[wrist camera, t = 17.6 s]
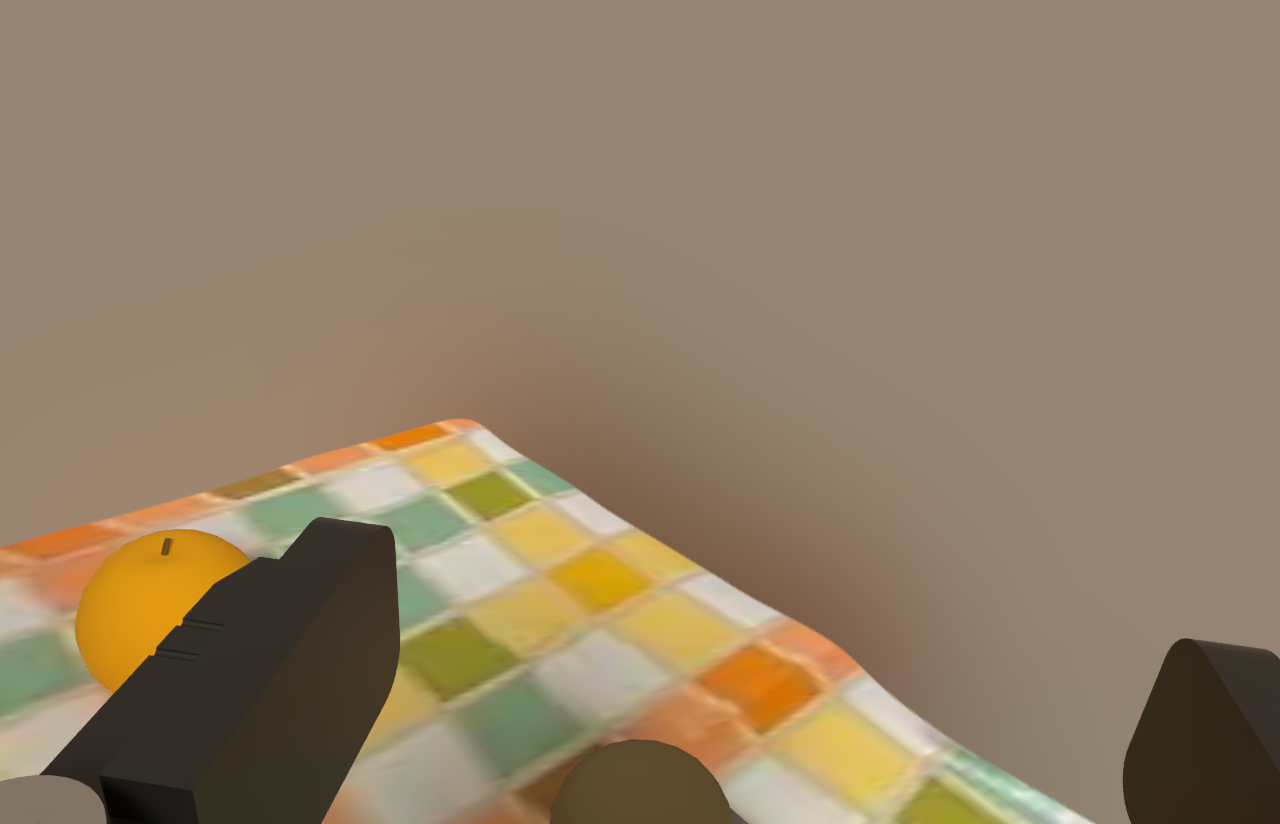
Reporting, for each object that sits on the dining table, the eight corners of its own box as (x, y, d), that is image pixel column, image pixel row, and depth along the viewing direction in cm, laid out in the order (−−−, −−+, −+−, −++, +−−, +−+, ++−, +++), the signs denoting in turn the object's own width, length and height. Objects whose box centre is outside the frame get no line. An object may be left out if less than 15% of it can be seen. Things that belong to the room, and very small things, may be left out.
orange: (52, 722, 41) (14, 585, 38) (153, 611, 48) (129, 488, 45) (225, 746, 41) (202, 609, 38) (302, 631, 48) (288, 507, 45)
